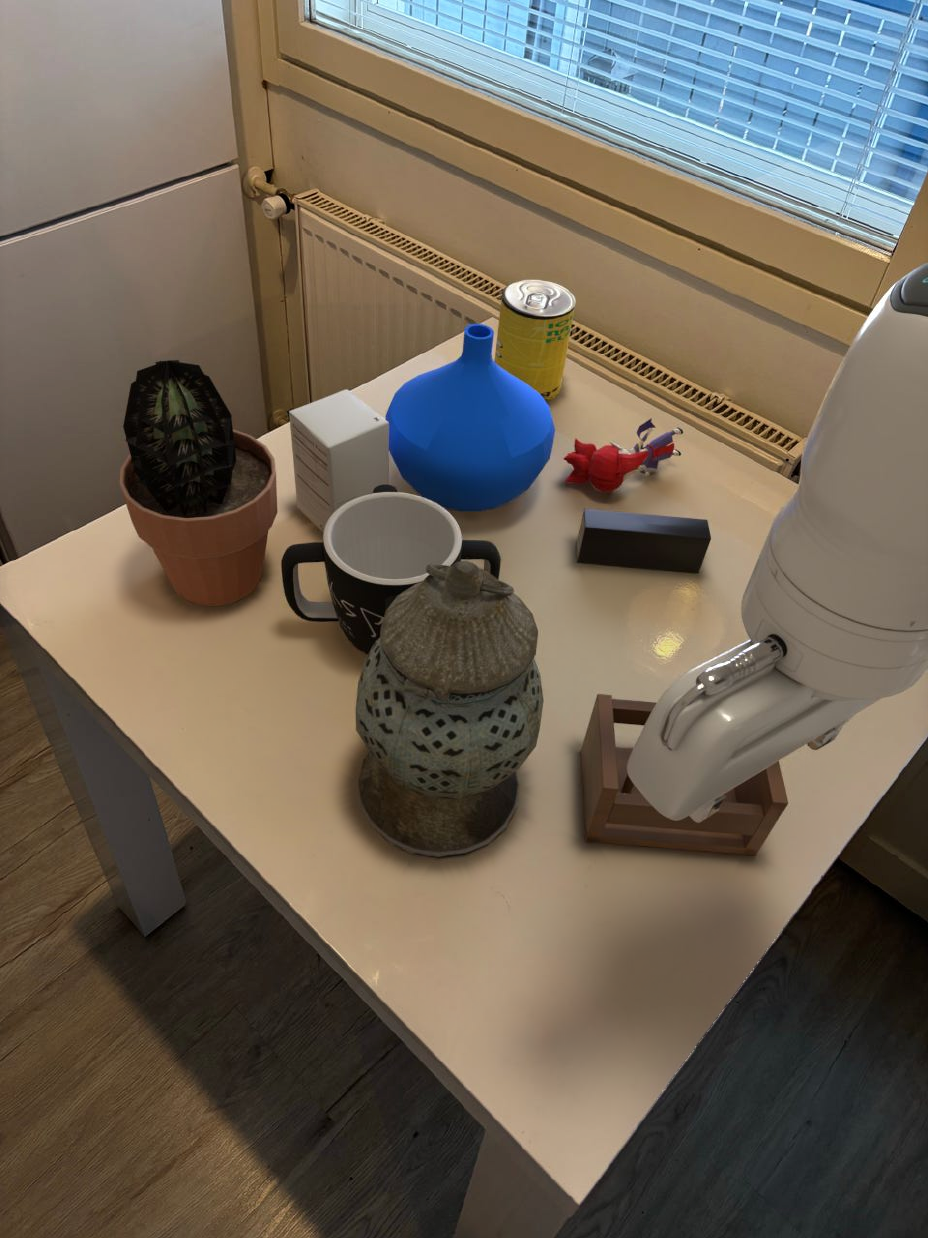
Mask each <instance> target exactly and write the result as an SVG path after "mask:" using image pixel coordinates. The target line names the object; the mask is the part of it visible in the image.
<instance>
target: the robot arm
mask: <svg viewBox="0 0 928 1238" xmlns="http://www.w3.org/2000/svg"><path fill="white" fill-rule="evenodd" d="M847 349H848V350H847V351H846V354H845V355H844V357H843V358H842V361H841V362H840V364H839V367H838V369H837V370H836V372H835V374H834V376H833V379H832V381H831V383H830V384H829V386H828V389H827V390H826V393H825V396H824V398H823V400H822V402H821V405H820V407H819V409H818V411H817V413H816V415H815V417H814V421H813V422H812V424H811V425H812V426H811V428H810V430H809V432H808V435H807V437H806V440H805V442H804V445H803V448H802V453H801V458H800V459H801V460H800V461H801V462H800V476H799V481H798V484H797V487H796V489H795V490H794V492H793V493H792V494H791V496H790V497H789V498H788V499H787V500H786V501H785V502H784V503H783V504H782V506H781V507H780V508H779V510H778V511H777V513H776V515H775V516H774V519H773V520H772V523H771V525H770V528H769V531H768V533H767V536H766V538H765V540H764V542H763V545H762V548H761V550H760V553H759V554H758V558H757V560H756V563H755V564H754V568H753V570H752V573H751V574H750V575H751V576H750V577H749V580H748V583H747V584H746V587H745V590H744V592H743V594H742V598H741V602H740V603H741V604H740V614H741V621H742V625H743V628H744V630H745V632H746V634H747V636H748V638H749V639H747V640H745V641H743V642H741V643H739V644H737V645H735V646H733V647H732V648H729V649H727V650H726V651H724V652H722V653H720V654H717V655H716V656H713V657H712V658H710V659H708V660H706V661H704V662H702V663H700V664H698V665H697V666H695V667H692V668H691V669H690V670H688V671H686V672H685V673H683V674H682V675H680V676H679V677H678V678H676V679H675V680H674V681H673V682H672V683H671V684H670V685H669V686H668V687H667V688H666V689H665V691H664V692H663V693H662V694H661V695H660V697H659V699H658V700H657V701H656V705H655V707H654V708H653V710H652V712H651V714H650V716H649V717H648V719H647V721H646V723H645V725H644V726H643V727H642V729H641V731H640V733H639V735H638V737H637V738H636V742H635V744H634V746H633V747H632V748H633V750H632V753H631V755H630V757H629V760H628V763H627V773H628V776H629V777H630V779H631V781H632V782H633V784H634V785H635V786H636V788H637V789H638V790H639V791H640V793H641V794H642V795H643V796H644V798H645V799H646V800H647V801H648V802H649V803H650V804H651V805H652V806H653V807H654V808H655V809H656V810H657V811H658V812H659V813H660V814H662V815H663V816H665V817H667V818H669V819H671V820H674V821H678V820H681V819H684V818H686V817H687V816H690V817H691V818H692V819H693V821H695V822H697V823H700V822H701V821H703V820H705V819H707V818H708V817H710V816H711V815H713V814H714V813H716V812H717V811H719V809H720V806H721V805H722V803H723V802H724V800H725V798H726V796H725V795H724V794H725V793H727V792H728V791H730V790H731V789H733V788H735V787H736V786H738V785H740V784H741V783H743V782H745V781H746V780H748V779H750V778H751V777H753V776H755V775H756V774H758V773H760V772H761V771H763V770H764V769H766V768H768V767H769V766H771V765H773V764H774V763H776V762H778V761H779V762H780V761H781V760H783V759H784V758H786V757H788V756H789V755H791V754H792V753H794V752H796V751H798V750H799V749H800V748H803V747H804V746H807V747H808V748H810V749H811V750H813V751H818V750H819V749H821V748H823V747H825V746H826V745H828V744H830V743H832V742H834V741H835V740H836V738H837V736H838V735H839V733H840V732H841V730H842V729H843V727H844V726H845V725H846V724H847V723H848V722H849V721H850V720H852V719H853V718H854V717H855V716H856V715H857V714H858V713H860V712H862V711H864V710H865V709H867V708H868V707H870V706H872V705H873V704H875V703H877V702H878V701H880V700H882V699H885V698H890V697H894V696H896V695H899V694H901V693H904V692H905V691H907V690H909V689H911V688H912V687H913V686H914V685H916V684H917V683H918V682H919V681H920V679H921V678H922V677H923V676H924V674H925V673H926V671H928V261H927V262H925V263H923V264H921V265H920V266H917V267H915V268H914V269H912V270H911V271H909V272H908V273H906V274H905V275H904V276H902V277H901V278H900V279H899V280H897V281H896V282H895V283H894V284H893V285H892V286H891V287H890V288H889V289H888V291H887V292H885V294H884V295H883V296H882V298H881V299H880V300H879V301H878V302H877V304H876V305H874V308H873V309H872V310H871V311H870V313H869V315H868V316H867V317H866V319H865V321H864V322H863V324H862V325H861V327H860V329H859V330H858V332H857V333H856V335H855V337H854V339H853V340H852V343H851V344H850V346H849V348H847Z"/></svg>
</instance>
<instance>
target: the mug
mask: <svg viewBox="0 0 928 1238" xmlns="http://www.w3.org/2000/svg"><path fill="white" fill-rule="evenodd" d="M469 560H480V561H481V560H483V570H486V571H487V572H489V573H490V574H492V575H493V576H494V577H496V579H497V580H500V573H501V562H502V558H501V554H500V551H499V549H498V547H497V546H496V545H495V543H493V542H492V541H489V540H481V539H480V540H479V539H463V533H462V530H461V528H460V525H459V524H458V522H457V520H456V519H455V517H454V516H453V515H452V514H451V512H449V511H448V509H446V508H444V507H441V506H440V505H438V504H437V503H435V502H433V501H431V500H429V499H426V498H423V497H422V496H421V495H417V494H412V493H407V492H399V491H398V489H397V487H396V486H394V485H392V484H389V485H387V484H384V485H379V486H377V487H375V488H374V490H373V494H369V495H365V496H361V497H358V498H356V499H353V500H351V501H349V502H347V503H346V504H344V505H343V506H341V507H340V508H339V509H337V510H336V511H335V512H334V513H333V514H332V516H331V517H330V518H329V520H328V521H327V523H326V526H325V528H324V532H322V541H314V542H313V541H312V542H302V543H294V544H290V546H288V547H287V548H286V549H285V551H284V552H283V555H282V557H281V561H280V568H281V569H280V570H281V581H282V587H283V594H284V597H285V599H286V600H285V601H286V603H287V604H288V606H289V607H290V609H291V610H292V611H293V613H294V614H295V615H296V616H297V617H298V618H300V619H302V620H304V621H307V622H311V623H312V622H314V623H338V624H339V626H340V628H341V631H342V632H343V634H344V636H345V637H346V639H347V640H348V642H350V644H351V645H352V646H353V647H355V648H356V649H357V650H358V651H360V652H361V653H363V654H365V655H366V656H367V655H368V653H369V652H370V650H371V648H372V647H373V645H374V644H375V642H376V641H377V640H378V639H379V638H380V631H381V626H382V622H383V619H384V615H385V612H386V610H387V609H388V607H389V606H390V605H391V603H392V602H393V601H394V600H395V598H396V597H397V596H398V595H399V594H401V593H403V592H404V591H406V590H407V589H409V588H410V587H412V586H413V585H415V584H417V583H420V582H423V580H424V579H425V578H426V577H427V576H428V575H429V574H428V573H427V571H426V566H427V565H428V564H441V565H447V566H452V565H454V564H455V563H456V562H459V561H469ZM309 563H313V564H315V563H323V564H324V568H325V576H326V582H327V587H328V590H329V594H330V598H331V601H313V600H308V599H307V598H306V597H305V596H304V594H303V593H302V590H301V584H300V578H299V564H309Z"/></svg>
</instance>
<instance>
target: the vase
mask: <svg viewBox="0 0 928 1238" xmlns="http://www.w3.org/2000/svg"><path fill="white" fill-rule="evenodd" d="M494 336H495V331H494V330H493V328H492V327H490V326H489V325H486V324H484V323H483V324H482V323H473V324H468V325H467V326H465V328H464V331H463V341H462V342H463V343H462V352H461V355H460V356H459V357H458V358H456V360H453V361H452V362H449V363H447V364H445V365H442V366H440V367H437V368H435V369H432V370H429V371H426V372H423V373H420V374H418V375H416V376H414V377H413V378H411V379H410V380H407V381H406V382H405V383H403V384H402V385H401V386H400V387H399V388H398V390H396V392H395V393H394V395H393V397H392V399H391V401H390V403H389V406H388V408H387V411H386V413H385V416H384V417H385V418H384V419H385V420H386V421H388V422H389V455H391V458H392V460H393V462H394V464H395V466H396V468H397V470H398V472H399V474H400V476H401V478H402V479H403V480H404V481H405V482H406V483H407V485H409V486H410V487H411V488H412V489H413V490H414V491H415V492H416V493H417V494H418V496H420V497H423V498H426V499H429V500H431V501H433V502H435V503H437V504H438V505H440V506H441V507H443V508H444V509H445V510H450V511H455V512H462V513H470V512H471V513H474V512H475V513H477V512H485V511H489V510H490V511H491V510H494V509H497V508H500V507H503V506H504V505H507V504H508V503H510V502H511V501H513V500H515V499H517V498H518V497H520V496H521V495H522V494H523V493H525V492H526V491H527V490H528V489H530V487H531V486H532V485H533V483H534V482H535V480H536V479H537V478H538V477H539V475H540V474H541V472H542V471H543V470H544V468H545V467H546V465H547V464H548V463H549V461H550V460H551V456H552V455H551V454H552V450H553V445H554V439H555V433H556V427H555V423H554V419H553V415H552V412H551V408H550V406H549V404H548V403H547V401H545V400H544V399H543V397H542V396H541V395H540V394H539V393H538V392H537V391H535V390H534V389H533V388H532V387H530V386H529V385H528V384H526V383H524V382H523V381H521V380H519V379H518V378H516V377H514V376H513V375H511V374H510V373H508V372H507V371H505V370H504V369H502V368H501V367H500V366H498V365H497V364H496V363H495V362H494V361H495V359H493V347H494V346H493V345H494Z"/></svg>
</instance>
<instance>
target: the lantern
mask: <svg viewBox="0 0 928 1238" xmlns="http://www.w3.org/2000/svg"><path fill="white" fill-rule="evenodd" d="M426 571H427V573H428V574H429V575H428V576H427V577H426V578H425V579H424V580H423V582H420V583H417V584H415V585H413V586H412V587H410V588H409V589H407V590H406V591H404V592H403V593H401V594H399V595H398V596H397V597H396V598H395V600H394V601H393V602H392V603H391V605H390V606H389V607H388V609H387V610H386V612H385V615H384V619H383V622H382V626H381V631H380V638H379V639H378V640H377V641H376V642H375V644H374V645H373V647H372V648H371V650H370V652H369V653H368V655H367V654H366V657H365V658H364V662H363V666H362V668H361V672H360V674H359V678H358V681H357V690H356V700H355V731H356V733H357V734H358V737H359V738H360V740H361V741H362V742H363V744H364V746H365V748H366V749H367V750H368V753H366V755H365V757H364V758H363V760H362V763H361V767H360V771H359V775H358V779H357V787H358V795H359V805H360V808H361V810H362V812H363V814H364V815H365V818H366V819H367V822H368V824H369V825H370V827H371V828H372V829H373V830H374V831H375V833H378V835H379V836H380V837H381V838H383V840H384V841H385V842H386V843H388V844H389V845H391V846H393V847H394V848H395V847H396V848H397V849H399V850H401V851H403V852H405V853H407V854H409V855H412V856H417V857H423V858H429V859H433V860H434V859H436V860H443V859H451V858H459V857H467V856H469V855H470V854H473V853H475V852H478V851H479V850H481V849H484V848H486V847H488V846H489V845H490V844H492V843H493V842H494V841H495V840H496V839H498V837H499V836H501V834H503V833H504V832H505V831H506V830H507V828H508V826H509V824H510V822H511V820H512V818H513V816H514V814H515V813H516V811H517V807H518V801H519V800H518V799H519V794H520V793H519V792H520V782H519V778H518V774H517V771H518V770H519V769H521V767H522V765H523V764H524V763H525V761H526V760H527V759H528V758H529V756H530V755H531V754H532V753H533V752H534V750H535V748H536V747H537V744H538V739H539V733H540V730H541V723H542V716H543V708H544V693H543V686H542V678H541V673H540V669H539V668H538V667H539V666H538V665H537V661H536V657H535V656H536V655H537V647H538V638H539V629H538V626H537V623H536V620H535V617H534V614H533V613H532V611H531V610H530V608H529V607H528V606H527V605H526V603H525V602H524V601H523V600H522V598H521V597H520V596H518V595H517V594H516V593H515V589H514V587H513V586H512V585H511V584H509V583H507V582H505V581H502V580H500V579H499V580H497V579H496V577H494V576H493V575H492V574H490V573H489V572H487V571H486V570H484V568H481V567H479V566H478V565H477V564H476V563H474V562H472V561H469V560H461V561H459V562H456V563H455V564H454V565H452V566H447V565H441V564H428V565H427V566H426Z"/></svg>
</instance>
